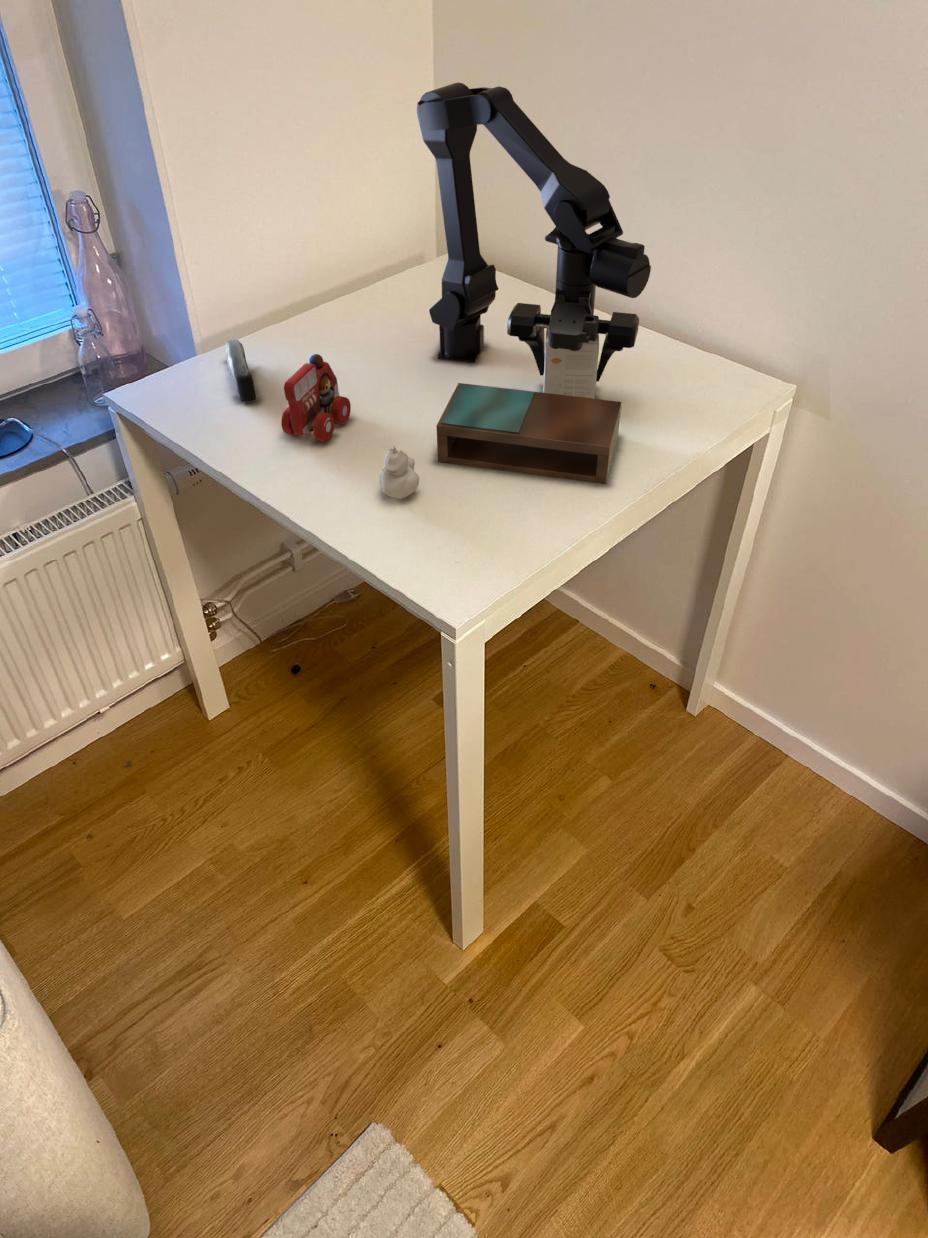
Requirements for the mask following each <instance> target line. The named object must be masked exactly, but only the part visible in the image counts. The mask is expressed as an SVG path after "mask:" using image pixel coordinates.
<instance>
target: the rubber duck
mask: <svg viewBox="0 0 928 1238" xmlns="http://www.w3.org/2000/svg"><path fill="white" fill-rule="evenodd" d="M415 461H416V460H415V459H414V458H413V457H410V456H408V454H407V453H405V452H404V451H403V450H402V449H401V450H399V449H397V448H396V446H395V445H393V446H392V447H390V448H389V449H388V451H387V453H386V455H385V457H384V467H383V468H382V469H381V470H380V471H379V474H378V481H379V485H380V486H381V490H382V493H383V494H385V496H388V497H391V498H394V499H405V498H407V497H408V496H409V495H411V494H413V493H414V492H415V491H416V490H417V488H418V487H419V485H420V476H419V474H418V473H417V472H415V465H416V462H415Z"/></svg>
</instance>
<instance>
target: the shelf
mask: <svg viewBox="0 0 928 1238" xmlns="http://www.w3.org/2000/svg"><path fill="white" fill-rule="evenodd" d="M622 404H623V403H622V401H618V400H611V399H601V398H595V399H594V398H585V397H576V396H568V395H559V394H550V393H544V392H541V391H532V390H523V389H516V388H506V387H499V386H498V387H497V386H489V385H480V384H471V383H464V382H463V383H462V382H458V383H457V384H456V386H455V388H454V390H453V392H452V395H451V397H450V398H449V400H448V402H447V404H446V406H445V408H444V410H443V412H442V414H441V416H440V418H439V419H438V421H437V423H436V426H435V427H436V446H437V447H436V448H437V450H436V451H437V462H438V463H445V464H452V465H458V466H467V467H474V468H481V469H489V470H495V471H504V472H510V473H519V474H526V475H534V476H541V477H549V478H557V479H563V480H571V481H578V482H579V481H580V482H587V483H596V484H602V485H606V484H607V482H608V478H609V473H610V470H611V465H612V462H613V458H614V454H615V450H616V446H617V442H618V439H619V431H620V430H619V429H620V421H621V412H622Z"/></svg>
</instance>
